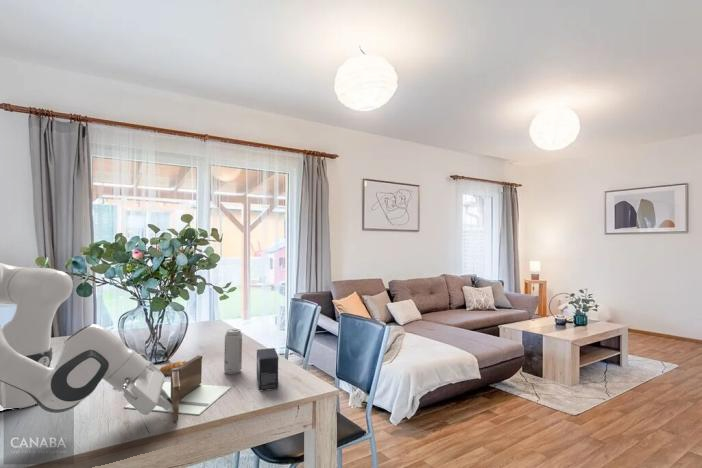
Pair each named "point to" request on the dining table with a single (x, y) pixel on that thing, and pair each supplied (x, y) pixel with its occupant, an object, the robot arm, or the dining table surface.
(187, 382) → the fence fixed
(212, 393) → the card
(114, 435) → the dining table surface
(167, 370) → the pastry
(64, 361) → the robot arm
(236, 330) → the energy drink can
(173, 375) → the fence panel
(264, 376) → the small box
